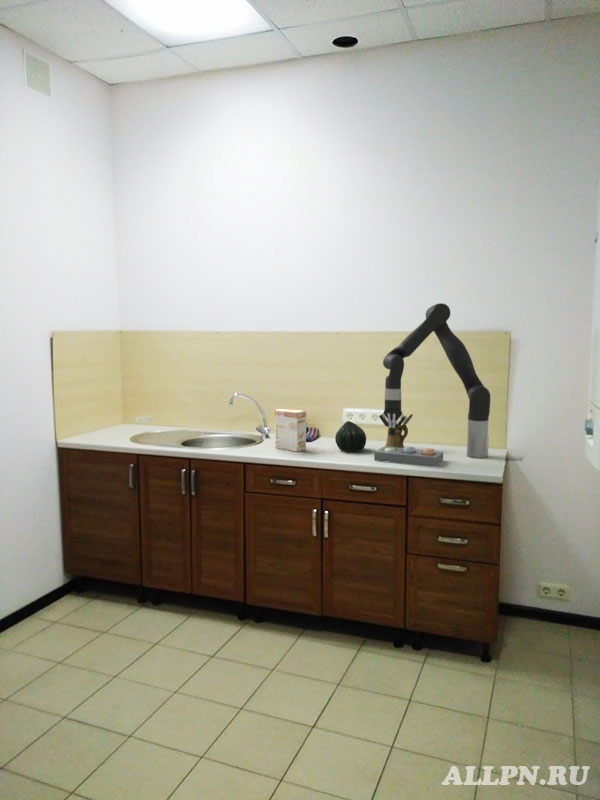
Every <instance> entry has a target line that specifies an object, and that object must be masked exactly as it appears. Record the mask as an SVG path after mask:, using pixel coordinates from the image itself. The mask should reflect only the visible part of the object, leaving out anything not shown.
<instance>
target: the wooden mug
mask: <svg viewBox="0 0 600 800" xmlns="http://www.w3.org/2000/svg"><path fill="white" fill-rule="evenodd" d="M412 418H413V414H412V413H411V414H410V415H409V416H407V418H406V419H405V421H404V422H403V423H402V424H401V425H400V426H399V427H397V428H396V435H395V436H390V434H389V428H387V436H386V443H385V446H386V447H397V448H404V447H405V446H404V441H405V439H406V437H407V436H408V433H409V428H408V426H407V424H408V423H409V422H410V421H411V419H412ZM403 433H404V434H403Z"/></svg>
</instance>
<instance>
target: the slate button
mask: <svg viewBox="0 0 600 800" xmlns="http://www.w3.org/2000/svg"><path fill="white" fill-rule="evenodd" d="M414 449H415V447H414V446H404V453H412V454H413V453H414Z"/></svg>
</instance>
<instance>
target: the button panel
mask: <svg viewBox="0 0 600 800" xmlns="http://www.w3.org/2000/svg"><path fill="white" fill-rule="evenodd" d="M385 448H394V449H395V451H394V452H391V451H385ZM373 456H374V457H373V460H379V461H378V462H383V461H389V462H388V463H393V462H396V463H395V464H402V463H405V464H404V465H412V464H414V465H413V466H422V465H424V467H431V466H436V467H438V465H440V464H441V463H442V462H443V461H444V451H439V450H438V451H437V450H434V455H433V456H432V455H423V449H417V448H414V453H413V454H412V453H404V448H397V447H386V445H385V446H383V447H381V448H379V449H377V450H375V451H374V455H373ZM441 461H442V462H441ZM440 462H441V463H440ZM439 463H440V464H439Z"/></svg>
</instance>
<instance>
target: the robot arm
mask: <svg viewBox="0 0 600 800" xmlns="http://www.w3.org/2000/svg"><path fill="white" fill-rule="evenodd" d="M450 316H451V309H450V306H448V304H445V303H442V302H439V303H436V304H434V305H431V306H430V307H428V308H427V310H426V311H425V319H424V321H422V323H420V325H418V326H417V327H416V328H415V329H414V330H412V331H411V332H410V333H409V334H408V335H407V336H406V337H405V338H404V339H403V340H402V341H401V342H400V343H399V345H397V346H396V347H394V348H393V349H392V350H390V351H389V352H388V353H386V355H385V356H384V358H383V361H382V365H383V367H384V368H385V369H386V370H389V372H388V373H389V374H388V375H387V376H386V377H385V382H384V383H385V384H384V385H385V387H384V388H385V389H384V410H383V413H382V414H380V415H379V416H378V417H379V419H380V420H381V422H382V423H383V424H384V426H385V427H387V428H388V429H389V434H390V436H395V435H396V428H397V427H399V426H400V425H403V423H404V422H405V420H406V419H407V418H408V416H406V415H404V414H403V411H402V377H403V374H404V368H405V360H404V359H405V358H408V357H410V356H411V355H413V354H414V352H415V351H416V350H417V349H418V348H419V347H420V346H421V344H422V343H423V342H424V341H426V339H427V338H428V337H429V336H430V335H431V334H432V333H433V332H434V334H435V336H436V338H437V339H438V341H439V343H440V345H441V347H442V349H443V351H444V353H445V355H446V357H447V360H448V361H449V362H450V363H449V364H450V365H451V366H452V367H453V369H454V371H455V373H456V374H457V375H458V377H459V379H460V380H461V382H462V384H463V387H464V389H465V391H466V394H467V397H468V398H467V399H468V400H469V403H468V413H467V437H466V439H467V440H466V441H467V443H466V457H468V458H469V457H470V458H477V459H486V458H487V457H488V456H489V442H490V438H489V437H490V436H489V421H490V420H489V419H490V418H489V416H490V410H491V393H490V390H489V389H488V388H487V387H486V386H485V385H484V384H483V382H482V380H480V378H479V377H478V375H477V373H476V370H475V369H476V368H475V367H474V364H473V363H474V362H473V360H472V358H471V355H470V353H469V351H468V350H467V347H466V345H465V344H464V343H463V342H462V340H461V339H460V338H459V337H458V336H456V334H455V333H454V332H452V330H451V328H450V326H449V325H448V323H447V321H448V320H449V318H450ZM399 419H400V420H399Z"/></svg>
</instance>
